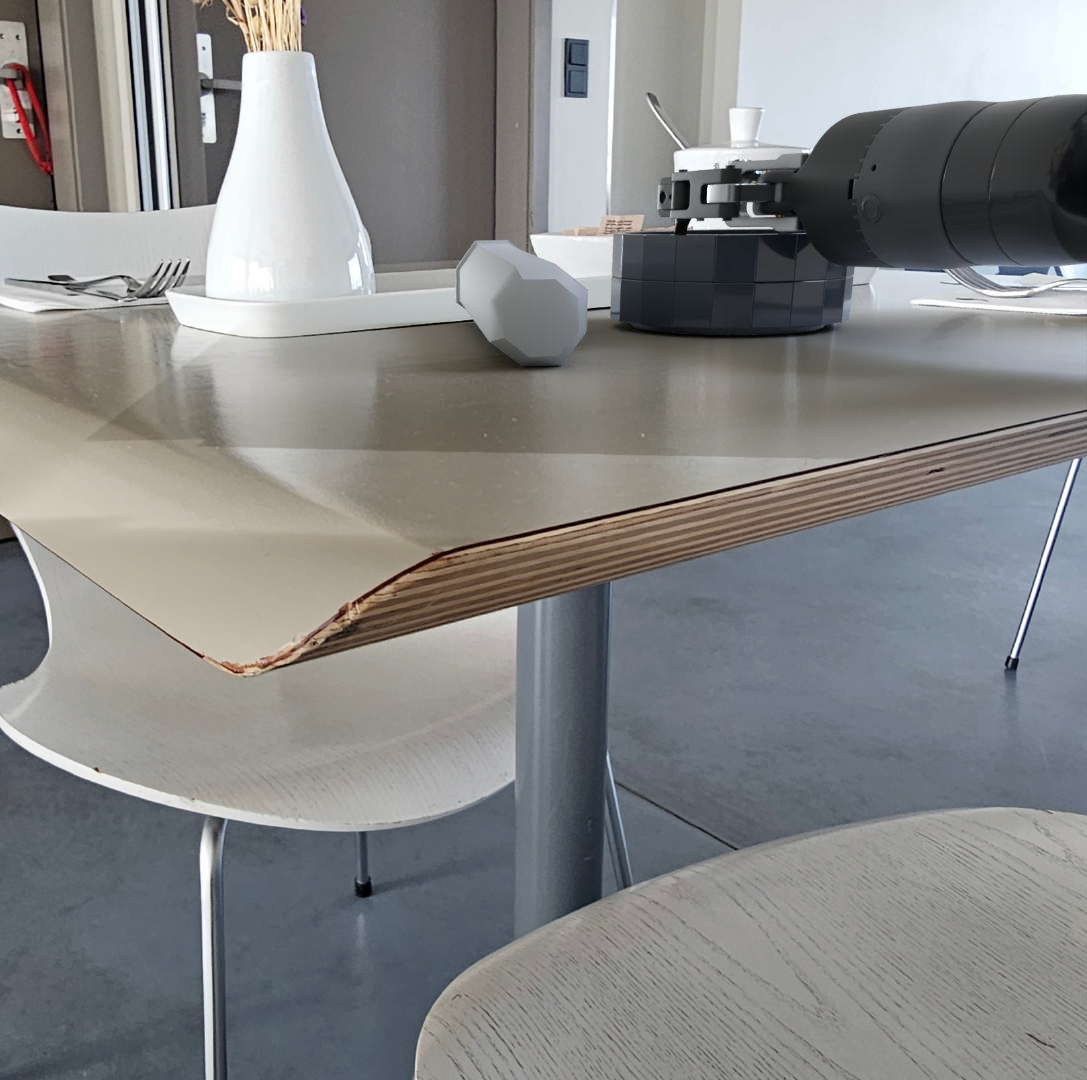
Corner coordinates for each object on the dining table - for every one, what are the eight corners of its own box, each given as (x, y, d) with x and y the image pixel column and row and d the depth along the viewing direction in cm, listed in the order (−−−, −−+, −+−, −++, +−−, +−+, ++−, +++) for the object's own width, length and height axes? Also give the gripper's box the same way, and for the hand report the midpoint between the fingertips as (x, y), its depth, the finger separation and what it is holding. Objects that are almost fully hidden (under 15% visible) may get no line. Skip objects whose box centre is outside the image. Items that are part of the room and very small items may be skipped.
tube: (618, 279, 53) (546, 253, 76) (506, 241, 52) (468, 226, 75) (577, 393, 54) (519, 333, 78) (469, 358, 54) (442, 308, 77)
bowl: (745, 311, 81) (751, 227, 79) (899, 329, 69) (910, 230, 67) (568, 322, 76) (570, 232, 74) (702, 343, 63) (708, 236, 62)
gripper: (1035, 107, 59) (808, 132, 73) (812, 100, 53) (612, 128, 67) (1013, 264, 61) (797, 258, 76) (798, 273, 56) (608, 265, 70)
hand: (711, 197), depth 71 cm, fingers closed on ring, 6 cm apart
